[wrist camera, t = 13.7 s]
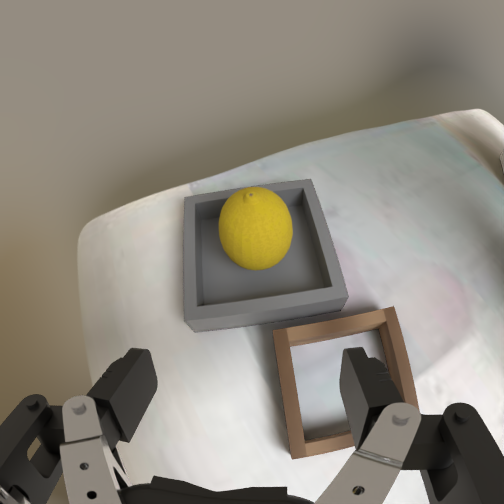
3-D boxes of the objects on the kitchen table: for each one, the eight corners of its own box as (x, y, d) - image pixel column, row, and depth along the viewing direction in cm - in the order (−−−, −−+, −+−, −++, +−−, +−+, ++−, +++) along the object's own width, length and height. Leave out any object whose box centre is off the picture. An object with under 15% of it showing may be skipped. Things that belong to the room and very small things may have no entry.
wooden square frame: (385, 314, 22) (393, 306, 20) (410, 423, 17) (421, 423, 15) (273, 337, 22) (272, 330, 20) (290, 455, 17) (292, 459, 15)
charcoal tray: (309, 199, 29) (311, 178, 26) (340, 310, 23) (348, 296, 20) (192, 217, 29) (184, 197, 27) (195, 332, 23) (184, 321, 20)
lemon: (218, 246, 26) (198, 183, 20) (273, 223, 27) (270, 157, 20) (242, 297, 24) (226, 242, 17) (302, 270, 24) (310, 208, 18)
